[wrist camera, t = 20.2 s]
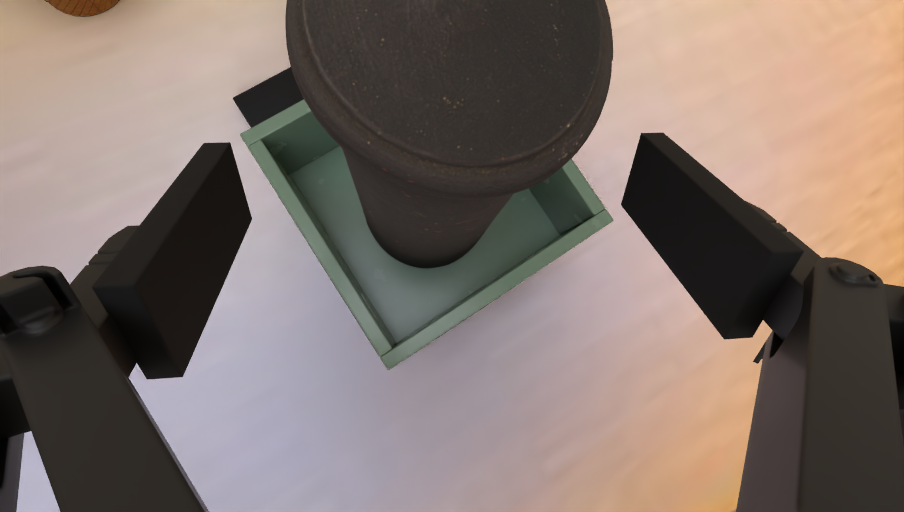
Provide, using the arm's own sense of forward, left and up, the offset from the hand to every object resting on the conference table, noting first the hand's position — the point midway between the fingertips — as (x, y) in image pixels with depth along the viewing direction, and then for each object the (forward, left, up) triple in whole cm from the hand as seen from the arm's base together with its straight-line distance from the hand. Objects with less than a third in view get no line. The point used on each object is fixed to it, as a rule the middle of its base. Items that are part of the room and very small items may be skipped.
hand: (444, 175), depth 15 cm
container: (-2, +2, -15) cm, 16 cm away
